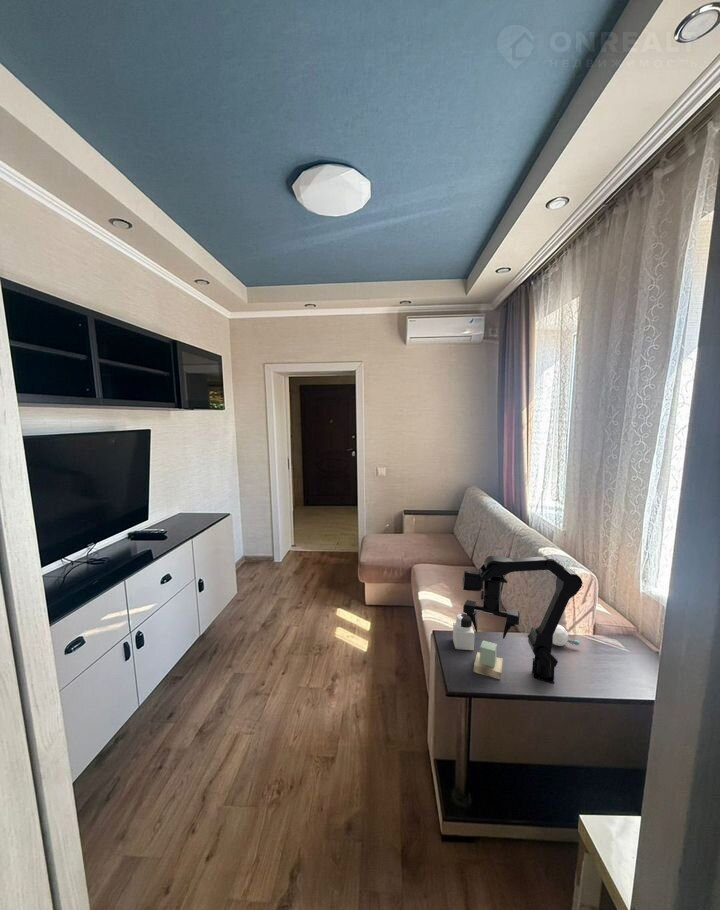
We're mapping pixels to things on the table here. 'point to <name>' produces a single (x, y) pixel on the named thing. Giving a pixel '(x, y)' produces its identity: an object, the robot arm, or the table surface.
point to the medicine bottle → (463, 633)
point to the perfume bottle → (562, 637)
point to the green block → (488, 653)
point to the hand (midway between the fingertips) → (489, 634)
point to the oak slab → (488, 668)
